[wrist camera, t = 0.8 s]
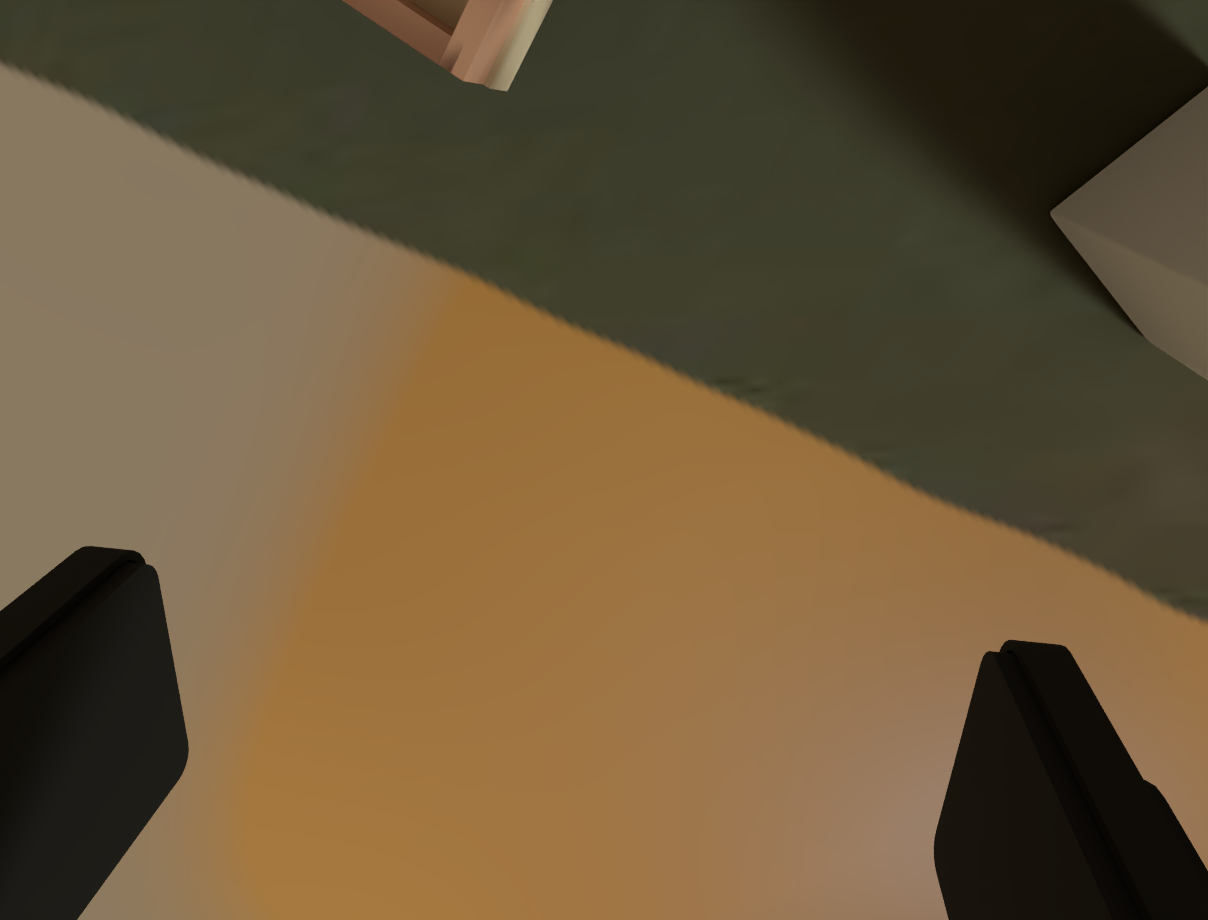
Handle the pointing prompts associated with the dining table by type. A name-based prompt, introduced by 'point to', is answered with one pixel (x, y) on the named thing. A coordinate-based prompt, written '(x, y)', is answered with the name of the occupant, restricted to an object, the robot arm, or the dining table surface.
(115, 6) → the dining table surface
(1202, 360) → the milk carton
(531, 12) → the seesaw beam
